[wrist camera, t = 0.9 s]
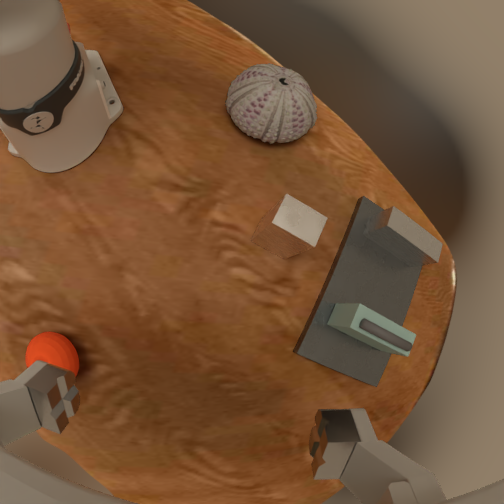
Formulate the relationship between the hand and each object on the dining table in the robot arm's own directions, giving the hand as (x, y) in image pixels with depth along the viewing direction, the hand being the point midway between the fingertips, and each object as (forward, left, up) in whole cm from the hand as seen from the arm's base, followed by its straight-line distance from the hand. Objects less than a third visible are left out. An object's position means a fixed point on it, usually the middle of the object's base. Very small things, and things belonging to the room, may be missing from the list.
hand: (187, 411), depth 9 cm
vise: (+4, +26, -29) cm, 39 cm away
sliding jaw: (+8, +22, -28) cm, 36 cm away
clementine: (-1, -16, -30) cm, 34 cm away
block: (-7, +14, -29) cm, 34 cm away
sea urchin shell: (-26, +21, -30) cm, 44 cm away
